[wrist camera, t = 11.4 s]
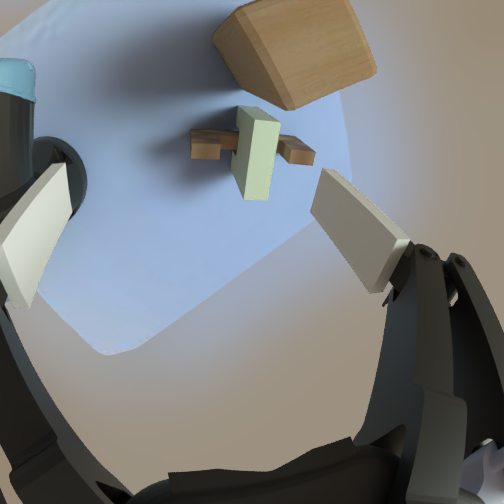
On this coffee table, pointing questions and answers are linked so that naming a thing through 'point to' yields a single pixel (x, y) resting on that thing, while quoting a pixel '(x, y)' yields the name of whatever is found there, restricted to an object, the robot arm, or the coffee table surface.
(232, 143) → the brown wooden bracket
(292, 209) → the coffee table surface
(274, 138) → the pale green block
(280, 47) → the wooden block
